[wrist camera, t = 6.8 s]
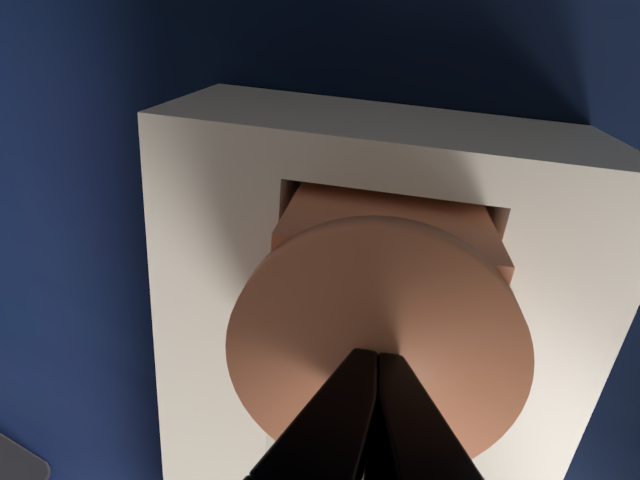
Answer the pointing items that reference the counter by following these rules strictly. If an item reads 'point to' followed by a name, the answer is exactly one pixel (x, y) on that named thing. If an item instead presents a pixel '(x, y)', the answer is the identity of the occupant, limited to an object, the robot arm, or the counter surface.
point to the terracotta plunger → (383, 308)
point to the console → (392, 177)
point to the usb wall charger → (20, 462)
